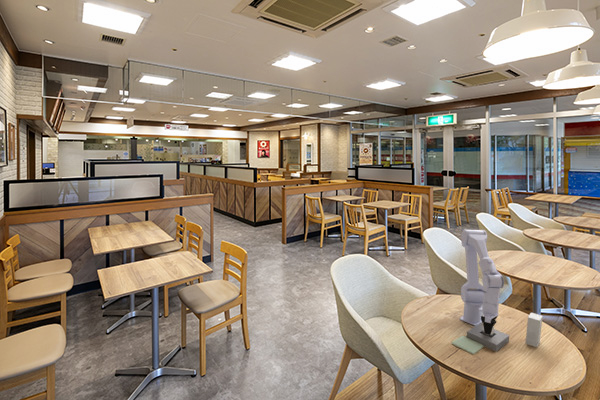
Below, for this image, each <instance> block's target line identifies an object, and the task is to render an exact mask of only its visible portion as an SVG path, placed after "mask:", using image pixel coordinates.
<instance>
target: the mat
mask: <svg viewBox="0 0 600 400" xmlns="http://www.w3.org/2000/svg"><path fill="white" fill-rule="evenodd" d="M451 344H452V345H453V346H455V347H458V348H459V349H462V350H463V351H466V352H467V353H469V354H472V355H474V354H476V353H478V352H479V351H480V350H481V349H483V348H485V346H484V345H482V344H480V343H478V342H476V341H473V340H471V339H469V338H467V337H466V336H464V335H461V336H459V337H458V338H456V339H455V340H453V341H452V342H451Z"/></svg>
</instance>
